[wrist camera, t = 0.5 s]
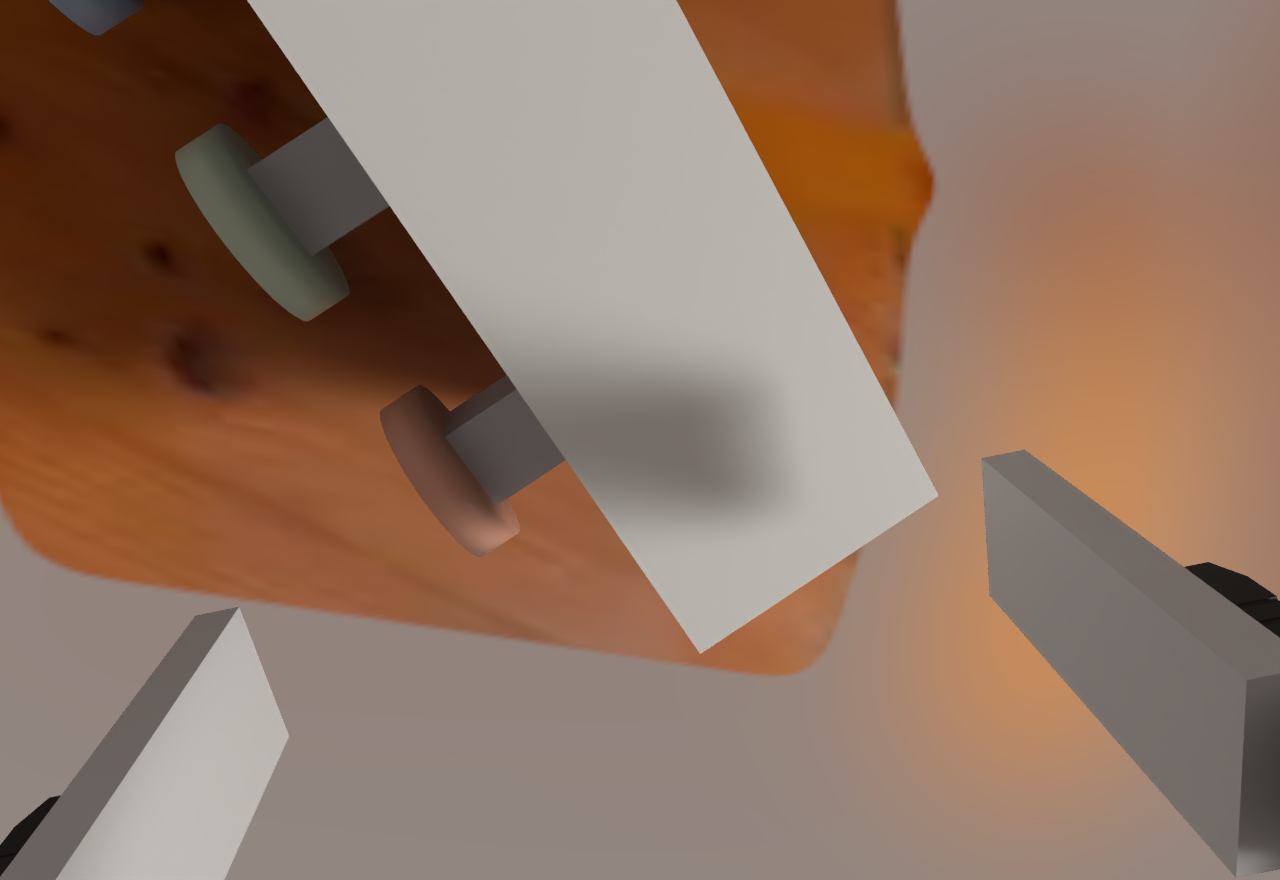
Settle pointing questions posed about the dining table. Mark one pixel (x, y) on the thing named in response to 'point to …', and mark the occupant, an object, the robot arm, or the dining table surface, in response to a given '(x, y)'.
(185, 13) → the dining table surface
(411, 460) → the terracotta button
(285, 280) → the sage button
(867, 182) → the dining table surface
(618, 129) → the control panel
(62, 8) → the slate button
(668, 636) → the dining table surface
